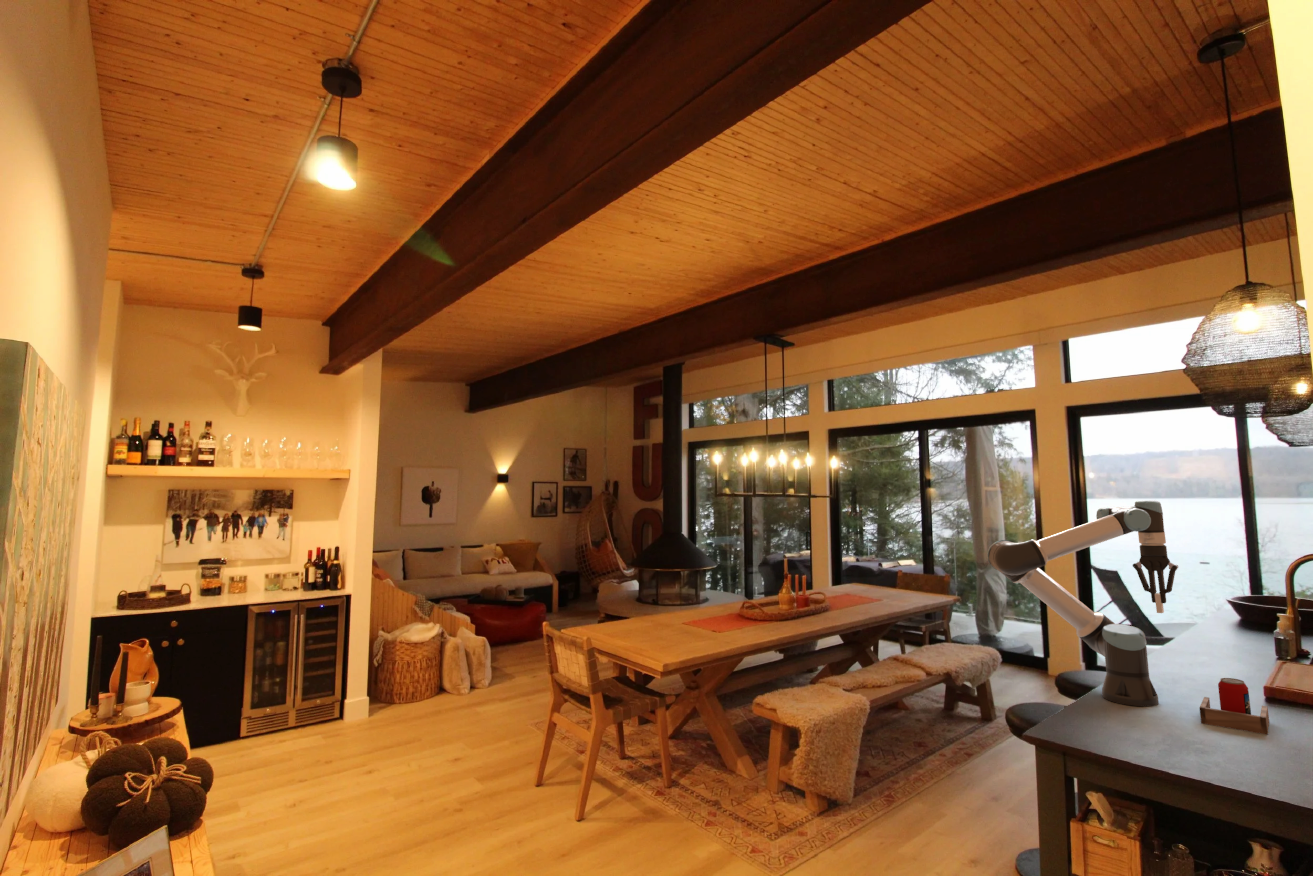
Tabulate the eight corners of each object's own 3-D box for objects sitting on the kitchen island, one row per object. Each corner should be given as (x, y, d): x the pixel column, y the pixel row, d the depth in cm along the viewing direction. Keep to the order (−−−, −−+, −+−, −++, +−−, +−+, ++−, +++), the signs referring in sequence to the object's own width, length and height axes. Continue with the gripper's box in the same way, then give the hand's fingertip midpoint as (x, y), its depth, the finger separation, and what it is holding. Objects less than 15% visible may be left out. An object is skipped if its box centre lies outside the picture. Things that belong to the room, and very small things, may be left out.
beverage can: (1258, 726, 187) (1253, 684, 188) (1230, 725, 188) (1226, 683, 189) (1242, 718, 193) (1238, 677, 195) (1216, 717, 195) (1212, 677, 196)
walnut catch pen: (1267, 734, 181) (1265, 718, 181) (1201, 723, 191) (1199, 707, 191) (1269, 722, 190) (1267, 706, 190) (1205, 711, 200) (1204, 696, 200)
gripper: (1127, 544, 229) (1134, 612, 227) (1173, 545, 219) (1181, 616, 217) (1133, 543, 234) (1140, 609, 232) (1178, 544, 224) (1186, 612, 222)
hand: (1160, 612), depth 224 cm, fingers closed
